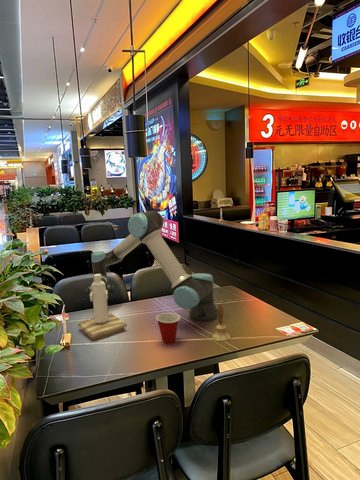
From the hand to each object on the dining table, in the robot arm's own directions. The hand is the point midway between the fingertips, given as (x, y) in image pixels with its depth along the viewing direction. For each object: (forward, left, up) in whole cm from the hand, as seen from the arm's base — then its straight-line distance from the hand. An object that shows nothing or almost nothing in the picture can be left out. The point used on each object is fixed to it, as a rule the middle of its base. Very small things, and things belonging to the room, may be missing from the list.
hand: (98, 297), depth 172 cm
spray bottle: (+5, -2, -14) cm, 15 cm away
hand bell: (-41, -40, -19) cm, 61 cm away
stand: (+5, -2, -19) cm, 20 cm away
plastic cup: (-28, -20, -19) cm, 40 cm away
